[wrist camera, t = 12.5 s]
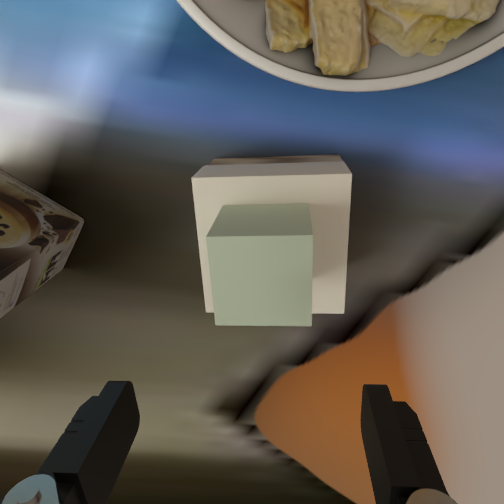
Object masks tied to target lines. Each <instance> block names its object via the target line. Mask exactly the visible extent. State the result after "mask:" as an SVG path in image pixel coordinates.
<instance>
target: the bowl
mask: <svg viewBox="0 0 504 504" xmlns="http://www.w3.org/2000/svg"><path fill="white" fill-rule="evenodd" d="M176 1H177V2H178V3H179V4H180V6H181V7H182V8H183V9H184V10H185V11H186V12H187V14H188V15H189V16H190V17H191V18H192V19H193V20H194V21H195V22H196V23H197V24H198V25H199V26H200V27H201V28H202V29H203V30H204V31H206V32H207V33H208V34H209V35H210V36H211V37H212V38H213V39H215V40H216V41H217V42H218V43H220V44H221V45H222V46H224V47H225V48H226V49H227V50H229V51H230V52H232V53H233V54H235V55H236V56H238V57H239V58H241V59H243V60H244V61H246V62H248V63H249V64H251V65H253V66H255V67H257V68H259V69H261V70H263V71H265V72H267V73H269V74H272V75H274V76H277V77H279V78H282V79H284V80H287V81H290V82H294V83H297V84H300V85H304V86H309V87H313V88H319V89H324V90H332V91H342V92H371V91H382V90H391V89H397V88H402V87H408V86H412V85H416V84H420V83H424V82H427V81H430V80H433V79H437V78H440V77H442V76H445V75H448V74H450V73H453V72H456V71H458V70H460V69H462V68H465V67H467V66H469V65H471V64H473V63H475V62H477V61H479V60H481V59H483V58H485V57H487V56H489V55H491V54H492V53H494V52H496V51H497V50H499V49H501V48H502V47H504V0H176Z"/></svg>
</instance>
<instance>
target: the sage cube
mask: <svg viewBox="0 0 504 504" xmlns="http://www.w3.org/2000/svg"><path fill="white" fill-rule="evenodd" d="M206 242H207V251H208V260H209V270H210V279H211V288H212V297H213V307H214V316H215V325H231V326H312V271H313V232H312V225H311V218H310V211H309V204H308V203H298V204H256V205H223V206H222V208H221V210H220V211H219V213H218V215H217V217H216V219H215V221H214V223H213V225H212V226H211V228H210V230H209V232H208V234H207V236H206Z"/></svg>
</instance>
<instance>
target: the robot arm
mask: <svg viewBox="0 0 504 504" xmlns="http://www.w3.org/2000/svg"><path fill="white" fill-rule="evenodd" d="M139 421H140V415H139V409H138V405H137V401H136V397H135V392H134V388H133V384H132V382H131V381H108V382H107V383H106V385H105V386H104V388H103V390H102V391H101V393H100V395H99V396H92V397H91V398H90V399H88V400H87V401H86V402H85V403H84V404H83V405H82V406H80V407H79V409H78V410H77V412H76V414H75V415H74V417H73V418H72V420H71V423H69V424H68V426H67V428H66V429H65V432H64V433H63V434H62V435H61V437H60V438H59V440H58V442H57V443H56V445H55V446H54V448H53V449H52V451H51V452H50V454H49V456H48V457H47V459H46V460H45V462H44V463H43V465H42V466H41V468H40V470H39V471H38V473H37V474H36V475H34V476H31V477H28V478H26V479H24V480H23V481H21V482H20V483H18V484H17V485H16V486H14V487H13V488H12V489H11V490H10V491H9V492H8V494H7V495H6V496H5V497H4V498H1V499H0V504H106V503H107V501H108V499H109V496H110V494H111V492H112V489H113V487H114V485H115V483H116V480H117V478H118V476H119V473H120V471H121V469H122V466H123V464H124V462H125V459H126V457H127V455H128V452H129V450H130V448H131V445H132V443H133V441H134V438H135V436H136V434H137V431H138V428H139ZM361 432H362V438H363V444H364V449H365V453H366V458H367V463H368V467H369V472H370V477H371V482H372V486H373V491H374V496H375V500H376V504H457V503H456V502H455V501H454V500H453V499H452V498H451V497H450V496H449V494H448V492H447V490H446V488H445V486H444V483H443V480H442V478H441V475H440V473H439V470H438V468H437V465H436V463H435V460H434V458H433V455H432V452H431V450H430V447H429V445H428V444H427V440H426V437H425V434H424V432H423V431H422V427H421V424H420V422H419V419H418V416H417V414H416V413H415V412H414V411H413V410H412V409H411V408H410V407H409V405H408V404H407V403H406V402H396V401H393V400H392V397H391V395H390V391H389V389H388V386H387V385H371V384H368V385H367V384H364V385H363V392H362V407H361Z"/></svg>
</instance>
